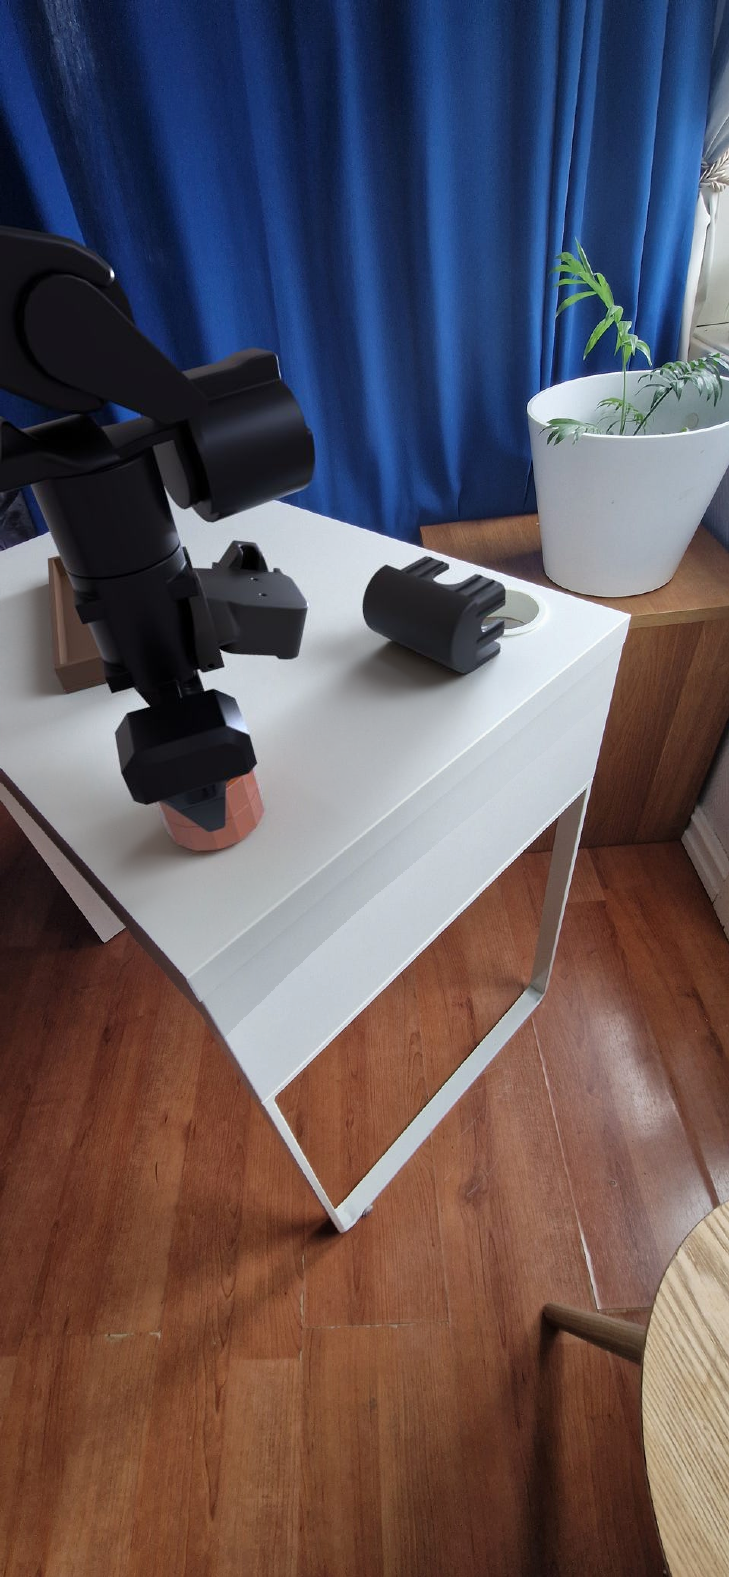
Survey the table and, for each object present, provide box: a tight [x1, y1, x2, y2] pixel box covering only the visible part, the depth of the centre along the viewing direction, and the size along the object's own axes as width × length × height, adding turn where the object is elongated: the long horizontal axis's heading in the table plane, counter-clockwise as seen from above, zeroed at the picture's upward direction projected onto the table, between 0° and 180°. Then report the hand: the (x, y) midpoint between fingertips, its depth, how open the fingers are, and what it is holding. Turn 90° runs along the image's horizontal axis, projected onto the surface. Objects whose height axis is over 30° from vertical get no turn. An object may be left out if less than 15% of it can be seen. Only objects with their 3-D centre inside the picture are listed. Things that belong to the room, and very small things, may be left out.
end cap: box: [361, 555, 507, 675], centre depth 58 cm, size 10×7×7 cm
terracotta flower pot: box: [154, 766, 265, 852], centre depth 46 cm, size 7×7×5 cm
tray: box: [47, 555, 107, 694], centre depth 70 cm, size 24×11×3 cm, turn 20°
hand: (203, 781), depth 46 cm, fingers open, 9 cm apart
